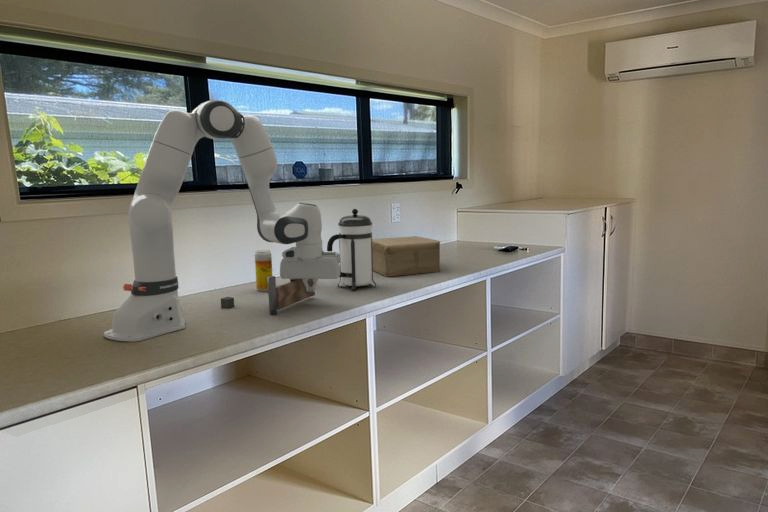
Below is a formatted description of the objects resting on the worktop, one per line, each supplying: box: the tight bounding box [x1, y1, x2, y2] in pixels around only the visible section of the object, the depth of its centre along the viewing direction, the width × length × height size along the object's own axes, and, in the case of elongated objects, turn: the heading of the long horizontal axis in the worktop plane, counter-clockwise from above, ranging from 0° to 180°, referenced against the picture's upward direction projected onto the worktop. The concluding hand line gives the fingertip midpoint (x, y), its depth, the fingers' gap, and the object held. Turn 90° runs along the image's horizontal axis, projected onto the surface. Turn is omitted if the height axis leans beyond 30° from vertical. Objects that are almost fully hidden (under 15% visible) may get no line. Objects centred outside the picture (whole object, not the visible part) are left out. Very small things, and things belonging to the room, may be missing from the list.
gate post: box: [267, 275, 278, 316], centre depth 169 cm, size 2×2×12 cm
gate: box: [276, 279, 316, 310], centre depth 181 cm, size 21×2×8 cm, turn 155°
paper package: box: [372, 235, 441, 278], centre depth 239 cm, size 27×26×14 cm
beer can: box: [254, 249, 273, 292], centre depth 203 cm, size 6×6×15 cm
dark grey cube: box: [220, 296, 235, 309], centre depth 180 cm, size 3×3×3 cm
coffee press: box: [326, 208, 377, 292], centre depth 203 cm, size 17×16×30 cm
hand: (310, 291), depth 183 cm, fingers closed
